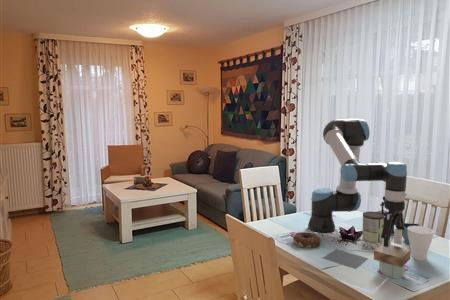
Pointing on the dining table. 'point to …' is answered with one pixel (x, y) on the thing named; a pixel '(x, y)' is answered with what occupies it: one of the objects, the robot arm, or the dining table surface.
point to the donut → (306, 239)
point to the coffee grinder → (384, 212)
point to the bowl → (391, 270)
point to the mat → (345, 258)
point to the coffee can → (372, 227)
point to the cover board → (393, 255)
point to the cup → (419, 241)
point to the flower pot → (405, 232)
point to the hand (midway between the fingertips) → (392, 248)
